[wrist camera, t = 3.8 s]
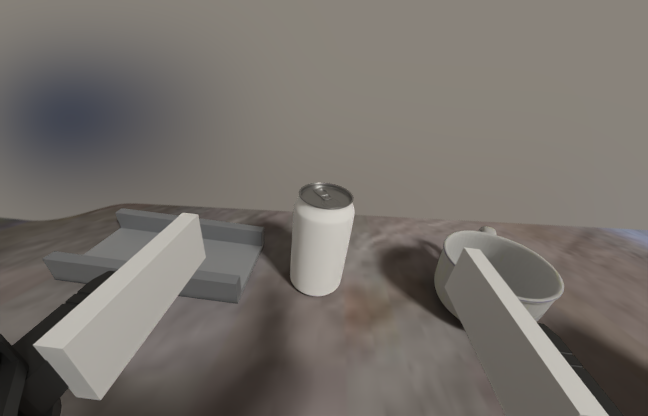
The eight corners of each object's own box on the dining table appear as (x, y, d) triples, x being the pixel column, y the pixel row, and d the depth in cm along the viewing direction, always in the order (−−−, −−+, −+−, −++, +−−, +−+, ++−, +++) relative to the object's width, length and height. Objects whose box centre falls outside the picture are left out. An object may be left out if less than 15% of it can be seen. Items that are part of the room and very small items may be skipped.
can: (299, 305, 27) (308, 214, 21) (283, 265, 32) (286, 183, 26) (349, 290, 30) (370, 205, 24) (327, 256, 35) (339, 178, 29)
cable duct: (55, 279, 26) (42, 258, 25) (128, 225, 35) (122, 208, 34) (237, 303, 26) (235, 284, 25) (264, 243, 35) (264, 226, 34)
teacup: (522, 374, 23) (574, 322, 19) (412, 310, 28) (435, 258, 24) (520, 288, 33) (554, 242, 29) (439, 252, 38) (459, 209, 34)
